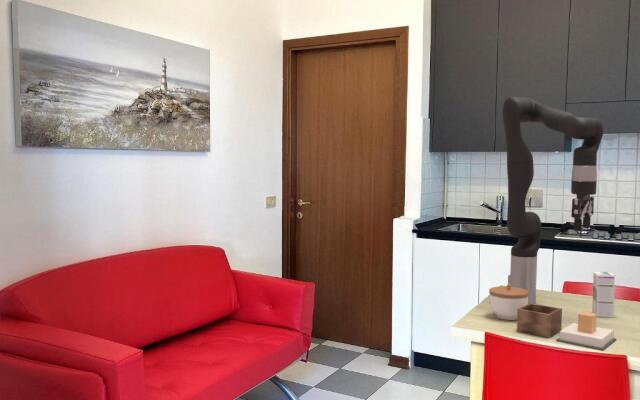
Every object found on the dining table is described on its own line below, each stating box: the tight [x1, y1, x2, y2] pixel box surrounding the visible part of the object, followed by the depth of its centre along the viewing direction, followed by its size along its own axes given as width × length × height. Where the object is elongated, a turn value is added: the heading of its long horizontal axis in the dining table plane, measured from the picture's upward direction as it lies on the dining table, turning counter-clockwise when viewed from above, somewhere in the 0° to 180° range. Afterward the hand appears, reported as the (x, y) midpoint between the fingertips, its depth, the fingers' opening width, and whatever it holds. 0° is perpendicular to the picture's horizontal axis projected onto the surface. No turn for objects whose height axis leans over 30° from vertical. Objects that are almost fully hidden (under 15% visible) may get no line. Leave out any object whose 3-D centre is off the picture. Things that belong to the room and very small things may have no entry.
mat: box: [555, 337, 617, 351], centre depth 178 cm, size 13×13×1 cm
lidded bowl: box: [488, 283, 529, 321], centre depth 203 cm, size 13×13×11 cm
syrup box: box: [591, 271, 616, 318], centre depth 206 cm, size 6×6×14 cm
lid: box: [559, 311, 614, 348], centre depth 178 cm, size 12×12×8 cm
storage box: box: [516, 303, 563, 339], centre depth 187 cm, size 10×10×7 cm
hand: (582, 229), depth 197 cm, fingers open, 8 cm apart
